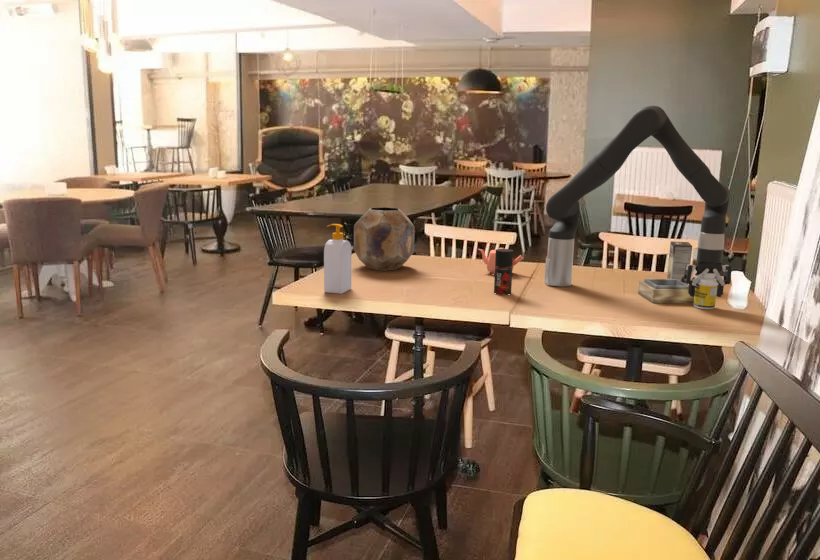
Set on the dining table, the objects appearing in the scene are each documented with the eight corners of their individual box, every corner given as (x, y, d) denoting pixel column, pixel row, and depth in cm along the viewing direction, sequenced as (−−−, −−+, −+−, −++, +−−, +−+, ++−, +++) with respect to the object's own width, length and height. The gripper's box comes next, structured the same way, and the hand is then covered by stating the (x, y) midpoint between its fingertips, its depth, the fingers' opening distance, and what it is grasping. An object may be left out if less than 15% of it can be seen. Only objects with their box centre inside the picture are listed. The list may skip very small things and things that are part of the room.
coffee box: (665, 283, 256) (670, 241, 253) (683, 284, 255) (688, 241, 252) (669, 288, 247) (674, 244, 244) (688, 289, 246) (693, 245, 243)
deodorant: (512, 292, 236) (514, 249, 233) (509, 295, 231) (511, 252, 228) (495, 290, 238) (497, 248, 235) (492, 294, 233) (494, 250, 229)
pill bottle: (689, 305, 223) (693, 270, 220) (708, 305, 223) (712, 270, 221) (699, 310, 216) (703, 274, 214) (718, 310, 217) (723, 274, 214)
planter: (413, 273, 265) (414, 212, 260) (351, 272, 265) (351, 211, 260) (413, 263, 286) (415, 206, 282) (356, 261, 287) (356, 205, 282)
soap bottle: (333, 287, 239) (333, 222, 234) (351, 288, 237) (351, 223, 232) (322, 292, 230) (321, 225, 226) (340, 294, 228) (340, 226, 223)
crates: (652, 302, 224) (653, 286, 223) (637, 293, 238) (639, 277, 237) (694, 303, 225) (696, 287, 224) (677, 293, 238) (679, 278, 237)
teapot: (506, 269, 277) (507, 244, 275) (523, 274, 267) (525, 249, 265) (476, 272, 271) (477, 246, 268) (493, 277, 260) (494, 251, 258)
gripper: (693, 248, 212) (688, 299, 215) (738, 249, 212) (732, 299, 215) (683, 244, 219) (678, 293, 223) (727, 245, 219) (721, 294, 223)
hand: (705, 296), depth 219 cm, fingers open, 8 cm apart
